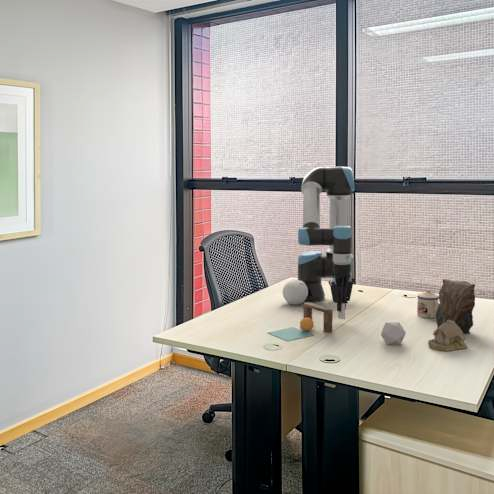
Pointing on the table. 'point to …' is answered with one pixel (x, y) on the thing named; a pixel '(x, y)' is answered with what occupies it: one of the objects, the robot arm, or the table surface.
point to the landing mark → (290, 334)
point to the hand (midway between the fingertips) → (341, 318)
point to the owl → (456, 304)
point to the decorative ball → (295, 292)
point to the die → (393, 333)
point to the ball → (306, 324)
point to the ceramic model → (448, 337)
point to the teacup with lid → (427, 304)
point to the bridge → (326, 315)
